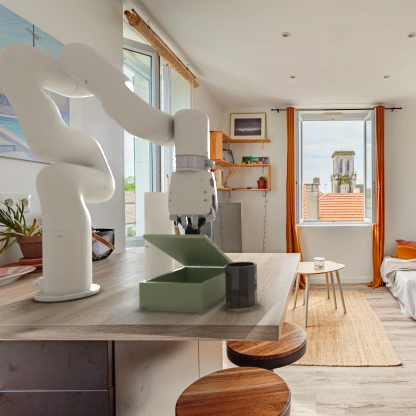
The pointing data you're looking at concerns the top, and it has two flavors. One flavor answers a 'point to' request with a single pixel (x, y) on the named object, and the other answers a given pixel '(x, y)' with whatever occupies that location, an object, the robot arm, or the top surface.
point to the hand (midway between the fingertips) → (192, 246)
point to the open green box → (183, 288)
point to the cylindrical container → (157, 224)
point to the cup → (240, 284)
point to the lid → (190, 249)
